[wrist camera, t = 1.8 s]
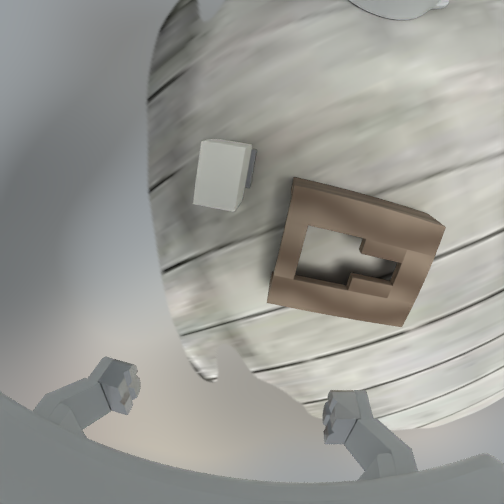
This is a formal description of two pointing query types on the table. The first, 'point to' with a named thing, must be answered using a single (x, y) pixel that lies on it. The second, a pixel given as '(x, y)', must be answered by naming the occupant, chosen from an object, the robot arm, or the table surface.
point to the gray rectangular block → (223, 173)
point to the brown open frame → (373, 244)
